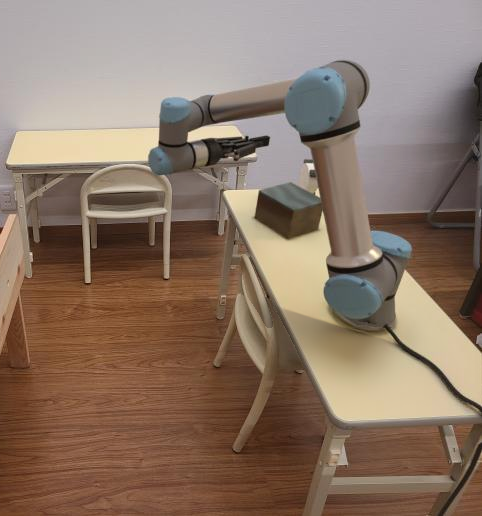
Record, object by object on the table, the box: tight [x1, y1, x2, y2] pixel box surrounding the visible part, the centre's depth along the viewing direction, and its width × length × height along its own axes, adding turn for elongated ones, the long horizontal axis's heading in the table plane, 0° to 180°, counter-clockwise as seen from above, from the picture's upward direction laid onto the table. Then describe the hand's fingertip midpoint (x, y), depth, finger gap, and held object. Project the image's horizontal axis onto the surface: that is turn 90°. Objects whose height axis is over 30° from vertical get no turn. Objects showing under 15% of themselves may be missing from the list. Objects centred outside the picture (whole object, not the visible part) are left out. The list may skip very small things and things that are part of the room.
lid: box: [258, 182, 321, 212], centre depth 164 cm, size 14×17×1 cm
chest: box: [253, 192, 323, 240], centre depth 167 cm, size 14×17×10 cm
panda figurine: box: [298, 158, 318, 195], centre depth 179 cm, size 12×11×15 cm
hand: (267, 140), depth 146 cm, fingers closed
